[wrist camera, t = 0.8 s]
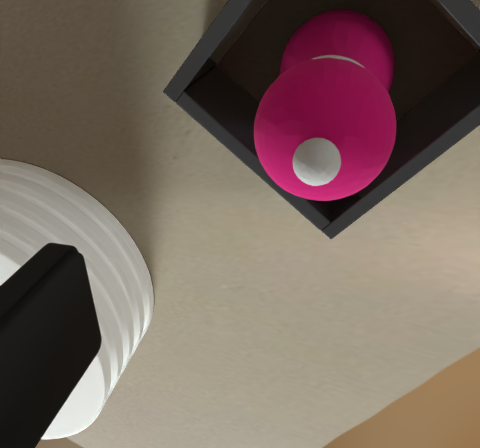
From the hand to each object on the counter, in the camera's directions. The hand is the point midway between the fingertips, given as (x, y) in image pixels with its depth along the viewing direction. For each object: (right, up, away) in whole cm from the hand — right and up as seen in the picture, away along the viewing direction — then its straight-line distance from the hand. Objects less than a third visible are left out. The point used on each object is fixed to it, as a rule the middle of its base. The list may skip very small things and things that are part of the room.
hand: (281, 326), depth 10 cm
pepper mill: (+6, +14, +23) cm, 28 cm away
